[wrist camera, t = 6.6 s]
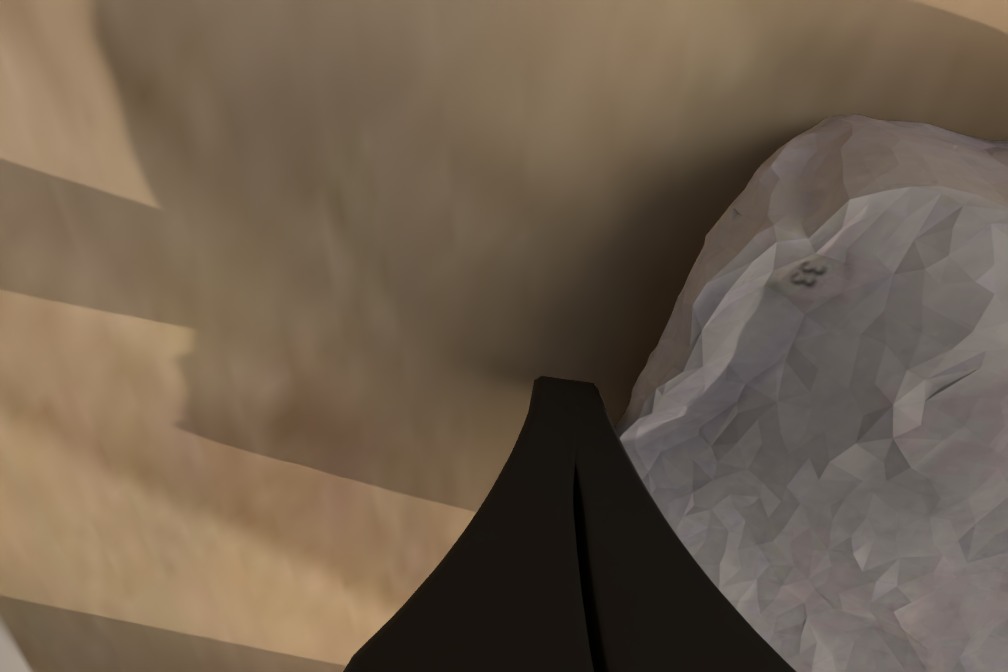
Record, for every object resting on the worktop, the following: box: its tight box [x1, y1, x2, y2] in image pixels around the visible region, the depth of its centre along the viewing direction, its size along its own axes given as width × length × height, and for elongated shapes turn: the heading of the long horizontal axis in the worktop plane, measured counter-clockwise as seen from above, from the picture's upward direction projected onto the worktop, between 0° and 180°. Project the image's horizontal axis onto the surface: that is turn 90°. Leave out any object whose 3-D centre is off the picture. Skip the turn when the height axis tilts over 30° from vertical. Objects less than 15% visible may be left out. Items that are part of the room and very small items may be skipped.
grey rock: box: [614, 114, 1008, 672], centre depth 12 cm, size 12×5×10 cm
